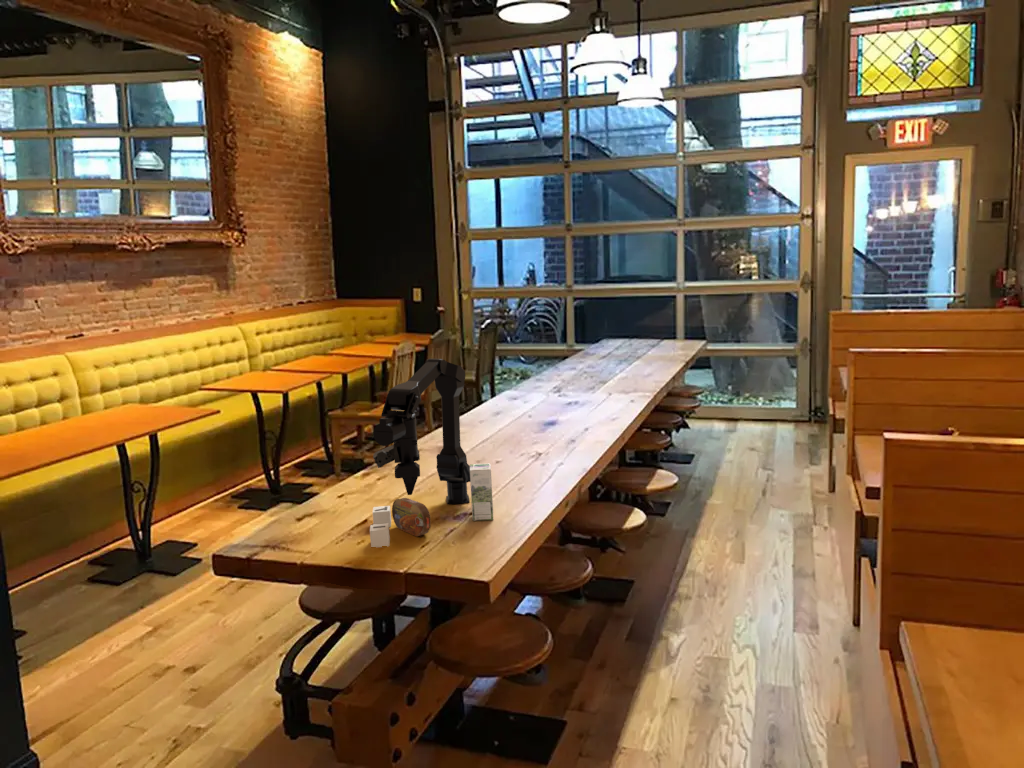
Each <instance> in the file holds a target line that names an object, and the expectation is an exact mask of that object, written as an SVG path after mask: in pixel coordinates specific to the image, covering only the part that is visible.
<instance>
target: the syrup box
mask: <svg viewBox="0 0 1024 768" xmlns="http://www.w3.org/2000/svg"><path fill="white" fill-rule="evenodd" d="M469 466H470V482H469V483H470V499H471V515H472V521H473V522H475V521H476V522H478V521H492V520H493V521H494V503H493V502H494V501H493V489H492V488H493V487H492V485H493V484H492V465H491V463H489V462H488V463H474V464H470V465H469Z"/></svg>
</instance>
